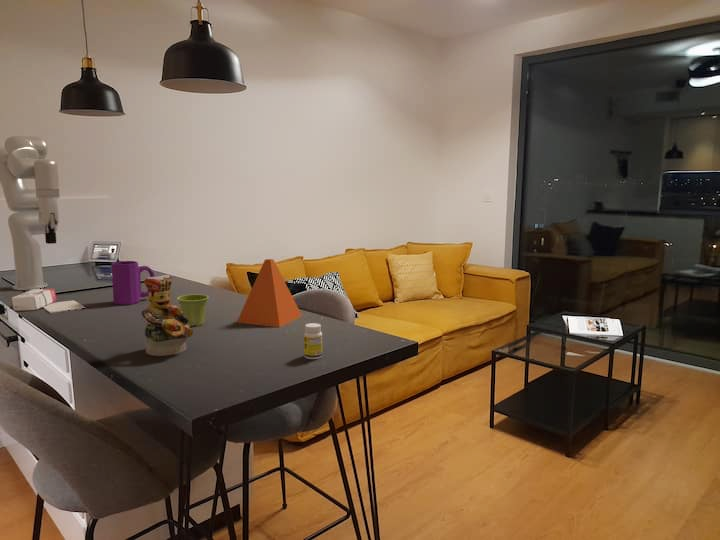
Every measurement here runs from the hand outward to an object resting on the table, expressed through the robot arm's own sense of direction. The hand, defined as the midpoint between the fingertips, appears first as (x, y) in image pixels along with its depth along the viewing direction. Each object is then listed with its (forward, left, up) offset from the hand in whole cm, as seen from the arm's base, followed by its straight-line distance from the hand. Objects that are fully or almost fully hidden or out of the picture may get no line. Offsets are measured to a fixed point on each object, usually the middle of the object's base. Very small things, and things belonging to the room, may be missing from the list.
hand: (51, 243), depth 198 cm
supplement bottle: (+119, +32, -22) cm, 125 cm away
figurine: (+90, +6, -22) cm, 93 cm away
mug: (+24, +21, -22) cm, 39 cm away
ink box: (+6, -5, -18) cm, 20 cm away
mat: (+17, -2, -21) cm, 27 cm away
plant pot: (+69, +23, -22) cm, 76 cm away
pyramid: (+79, +45, -22) cm, 93 cm away
